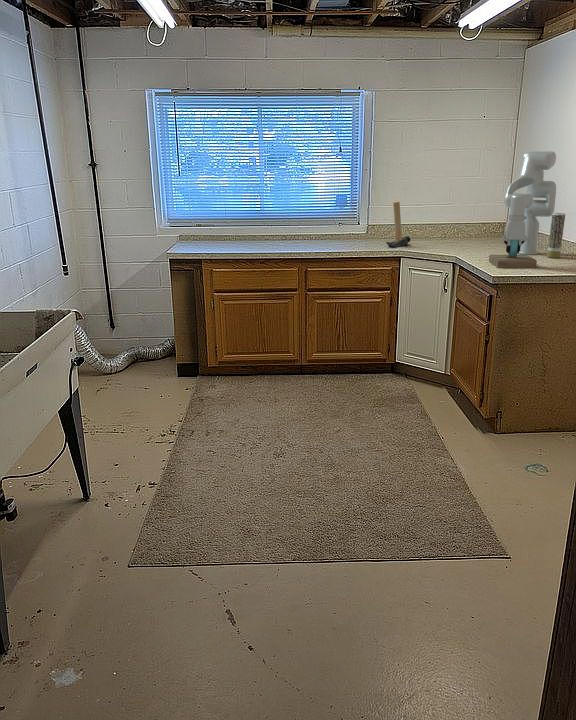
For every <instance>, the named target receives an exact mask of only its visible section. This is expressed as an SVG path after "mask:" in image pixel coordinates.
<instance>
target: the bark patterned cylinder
mask: <svg viewBox="0 0 576 720" xmlns="http://www.w3.org/2000/svg"><path fill="white" fill-rule="evenodd" d="M565 220H566V213H565V212H564V213H563V212H562V213H561V212H555V213H553V214H552V216H551V223H550V229H549V230H550V231H549V239H548V247H547V255H546V257H547V258H549V259H559V258H560V257H561V251H562V243H563V235H564V228H565Z"/></svg>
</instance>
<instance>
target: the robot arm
mask: <svg viewBox="0 0 576 720" xmlns="http://www.w3.org/2000/svg"><path fill="white" fill-rule="evenodd" d="M522 159H523V160H522V161H523V162H522V165H521V168H520V172H519V176H518V178H516V179H515V180H513V181H512V182H511V183H510V184H509V186H508V187H507V189H506V193H505V196H504V206H505V207H506V208H509V217H508V220H507V221H506V224H505V228H504V232H503V235H502V237H500V241H502V242H503V243H504V244H505V245H506V248H505V252H506V253H507V254H508V253H510V242H511V240H518V250H517V254H518V255H520V254H526V255H528V256H530V255H532V256H534V255H538V254H540V253H539V251H538V249H537V248H538V238H539V232H540V231H539V230H540V222H539V220H538V219H537V217H544V218H545V217H549V218H550V217H552V214H553V213H554V212H555V208H556V207H555V205H556V196H557V184H556V182H555V181H552V180H544V175H545V172H544V171H548V170H550V169H551V168H553V166H554V165H555V163H556V162H557V154H556V153H555V151H551V150H550V151H548V150H546V151H539V150H538V151H537V150H535V151H527V152H524V153H523V156H522ZM525 187H526V193H515V192H516V191H518V190H521V189H523V188H525ZM534 198H536V199H534Z"/></svg>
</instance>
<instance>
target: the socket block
mask: <svg viewBox="0 0 576 720" xmlns="http://www.w3.org/2000/svg"><path fill="white" fill-rule="evenodd" d="M488 255H489V256H488V262H489V264H491V265H493V266H494V267H495V266H496V267H495V268H497V269H511V268H512V269H536V268H537V262H538V260H537V259H535V258H533V257H531V256H530V255H527V254H517V256H516V257H511V256H508V254H488Z"/></svg>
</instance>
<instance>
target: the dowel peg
mask: <svg viewBox="0 0 576 720" xmlns="http://www.w3.org/2000/svg"><path fill="white" fill-rule="evenodd" d="M517 250H518V240H511V242H510V253H507V255H508V256H511V257H516V256H517V255H518V253H517Z"/></svg>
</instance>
